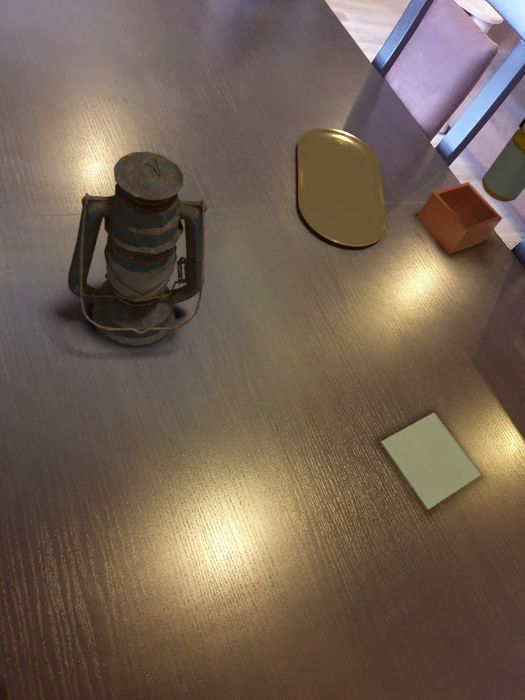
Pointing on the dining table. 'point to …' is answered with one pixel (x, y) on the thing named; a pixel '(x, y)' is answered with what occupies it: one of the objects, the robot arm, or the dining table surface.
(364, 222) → the serving platter
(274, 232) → the dining table surface
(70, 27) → the dining table surface
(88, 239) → the lantern
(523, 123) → the robot arm
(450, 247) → the box
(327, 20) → the dining table surface
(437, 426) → the mat
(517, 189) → the bottle
